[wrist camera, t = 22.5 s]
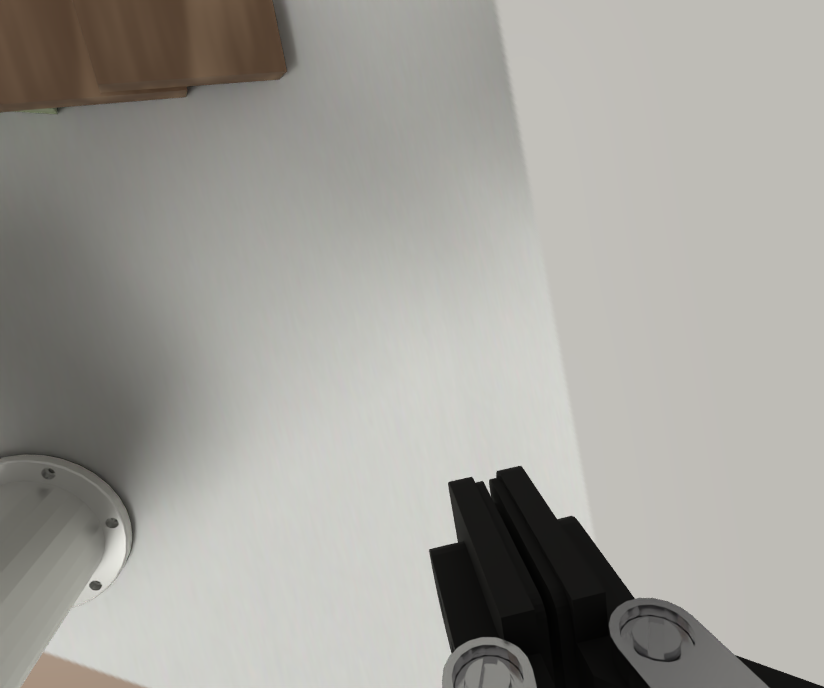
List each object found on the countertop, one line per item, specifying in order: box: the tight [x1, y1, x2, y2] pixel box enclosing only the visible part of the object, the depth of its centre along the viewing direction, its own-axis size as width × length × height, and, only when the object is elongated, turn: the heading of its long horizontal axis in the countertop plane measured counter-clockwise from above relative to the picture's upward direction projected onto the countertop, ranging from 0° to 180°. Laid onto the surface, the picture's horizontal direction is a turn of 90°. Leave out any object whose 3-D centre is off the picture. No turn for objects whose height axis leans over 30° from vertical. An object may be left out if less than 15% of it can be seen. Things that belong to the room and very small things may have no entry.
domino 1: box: [0, 0, 187, 112], centre depth 29 cm, size 2×5×10 cm
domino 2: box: [72, 0, 287, 93], centre depth 29 cm, size 2×5×10 cm
